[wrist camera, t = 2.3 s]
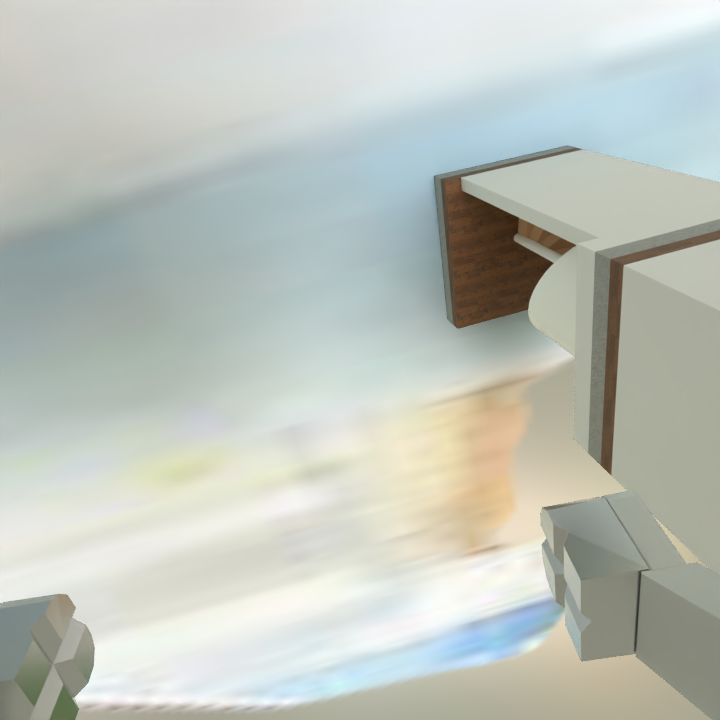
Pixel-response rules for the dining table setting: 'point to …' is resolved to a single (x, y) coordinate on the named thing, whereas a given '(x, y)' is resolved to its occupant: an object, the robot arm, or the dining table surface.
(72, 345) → the dining table surface
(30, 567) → the dining table surface
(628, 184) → the display case
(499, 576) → the dining table surface
